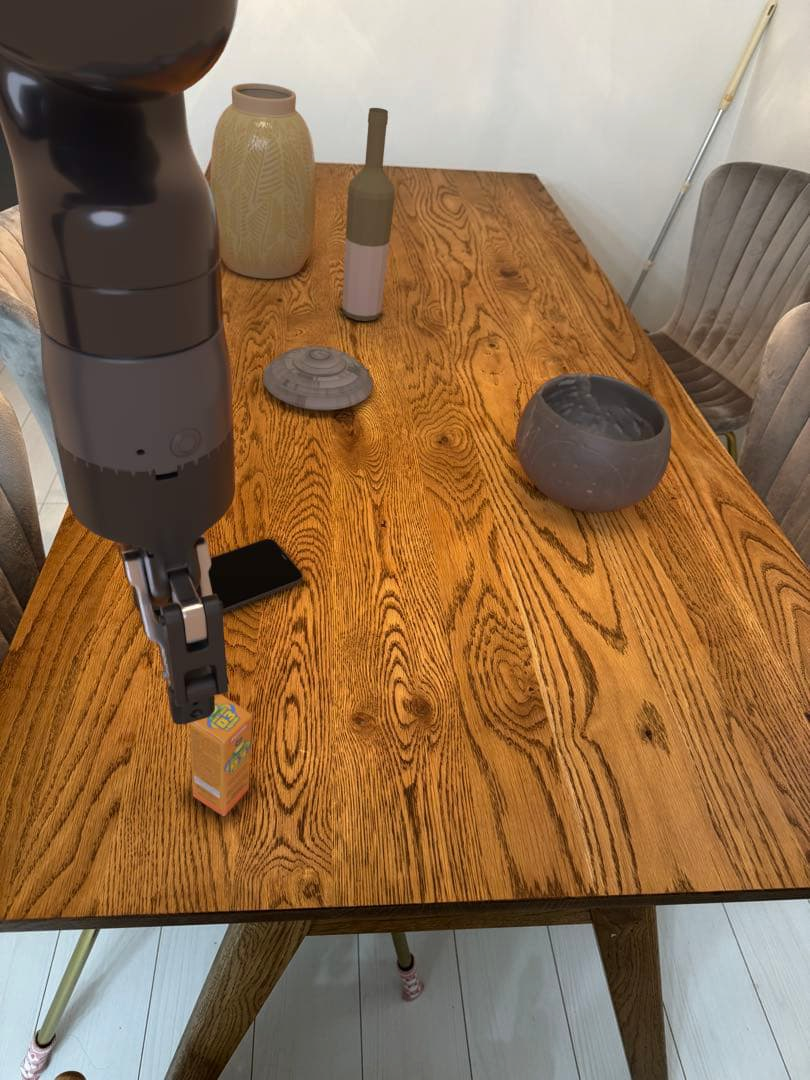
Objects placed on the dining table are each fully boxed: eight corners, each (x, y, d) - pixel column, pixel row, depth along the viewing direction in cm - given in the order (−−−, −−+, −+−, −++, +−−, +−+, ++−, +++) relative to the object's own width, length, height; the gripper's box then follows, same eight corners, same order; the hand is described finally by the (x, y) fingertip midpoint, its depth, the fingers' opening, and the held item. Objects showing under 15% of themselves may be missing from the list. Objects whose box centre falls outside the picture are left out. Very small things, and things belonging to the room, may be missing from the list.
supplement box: (226, 820, 62) (222, 744, 56) (191, 797, 64) (184, 719, 57) (254, 789, 65) (253, 712, 58) (220, 767, 66) (216, 689, 59)
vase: (191, 257, 140) (181, 82, 122) (266, 236, 150) (267, 72, 133) (260, 293, 132) (260, 112, 115) (333, 268, 143) (343, 99, 125)
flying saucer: (391, 384, 115) (395, 349, 112) (336, 432, 104) (339, 394, 101) (301, 351, 119) (302, 316, 116) (240, 393, 109) (239, 356, 105)
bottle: (387, 310, 133) (409, 109, 113) (376, 328, 128) (396, 120, 108) (346, 301, 134) (361, 100, 114) (333, 319, 128) (346, 111, 109)
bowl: (535, 434, 110) (557, 349, 101) (664, 483, 104) (699, 397, 96) (481, 499, 97) (502, 409, 89) (625, 559, 92) (661, 468, 84)
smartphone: (166, 638, 75) (307, 583, 83) (165, 632, 75) (307, 577, 82) (135, 589, 80) (271, 540, 87) (134, 582, 79) (271, 534, 86)
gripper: (29, 346, 38) (81, 589, 49) (83, 532, 29) (132, 783, 40) (188, 328, 41) (204, 562, 52) (282, 493, 32) (278, 736, 43)
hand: (173, 657), depth 46 cm, fingers open, 8 cm apart
